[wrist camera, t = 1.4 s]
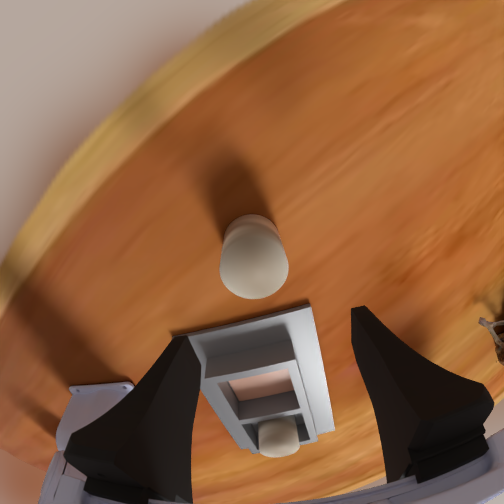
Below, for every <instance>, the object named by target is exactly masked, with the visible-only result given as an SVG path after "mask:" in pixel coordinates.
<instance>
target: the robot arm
mask: <svg viewBox="0 0 504 504" xmlns="http://www.w3.org/2000/svg"><path fill="white" fill-rule="evenodd" d="M351 342H352V346H353V350H354V354H355V358H356V362H357V364H358V367H359V370H360V372H361V375H362V378H363V380H364V383H365V385H366V388H367V391H368V393H369V396H370V399H371V402H372V405H373V408H374V412H375V416H376V420H377V425H378V429H379V434H380V439H381V445H382V450H383V456H384V463H385V470H386V478H387V484H384V485H381V486H377V487H373V488H369V489H365V490H361V491H357V492H352V493H347V494H342V495H337V496H332V497H326V498H320V499H313V500H306V501H298V502H289V503H278V504H484V503H486V502H488V501H489V500H491V499H493V498H494V497H496V496H498V495H500V494H501V493H503V492H504V429H502V430H500V431H498V432H497V433H495V434H493V435H492V436H490V437H489V438H487V439H485V437H484V435H483V434H484V433H485V428H484V426H483V423H484V422H485V421H486V419H487V417H488V416H489V415H490V413H491V411H492V410H493V407H494V401H493V399H492V397H491V395H490V394H489V392H488V390H487V389H486V387H485V386H484V385H483V384H482V383H479V382H475V381H472V380H469V379H466V378H464V377H461V376H459V375H456V374H454V373H452V372H450V371H448V370H446V369H444V368H442V367H440V366H438V365H436V364H434V363H432V362H431V361H429V360H428V359H426V358H424V357H423V356H421V355H420V354H418V353H417V352H416V351H414V350H413V349H412V348H410V347H409V346H408V345H406V344H405V343H404V342H403V341H401V340H400V339H399V338H398V337H397V336H396V335H395V334H393V333H392V332H391V331H390V330H389V329H388V328H387V327H386V326H385V325H384V324H383V323H382V322H381V321H380V320H379V319H378V318H377V317H376V316H375V315H374V314H373V313H372V312H371V311H370V310H369V309H368V308H367V307H366V306H365V305H364V306H360V307H355V308H351ZM200 385H201V363H200V361H199V359H198V357H197V355H196V353H195V351H194V349H193V347H192V345H191V342H190V340H189V338H188V336H187V335H183V336H175V337H174V338H173V339H172V341H171V342H170V343H169V345H168V346H167V347H166V349H165V350H164V351H163V353H162V354H161V355H160V357H159V358H158V359H157V361H156V362H155V363H154V364H153V366H152V367H151V368H150V370H149V371H148V372H147V373H146V374H145V375H144V377H143V378H142V379H141V380H140V381H139V383H138V384H137V385H136V386H134V385H133V384H132V383H131V382H120V383H109V384H97V385H83V386H70V388H69V391H70V392H71V393H72V394H73V395H72V397H71V399H70V401H69V403H68V405H67V407H66V410H65V412H64V414H63V416H62V419H61V421H60V423H59V425H58V428H57V431H56V444H57V448H58V450H59V451H57V452H56V453H55V454H54V456H53V459H52V461H51V463H50V466H49V468H48V471H47V474H46V476H45V479H44V482H43V485H42V489H41V496H40V499H39V502H38V504H193V498H192V485H191V444H192V430H193V423H194V418H195V412H196V407H197V402H198V396H199V391H200Z"/></svg>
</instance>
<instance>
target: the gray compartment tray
mask: <svg viewBox="0 0 504 504" xmlns="http://www.w3.org/2000/svg"><path fill="white" fill-rule="evenodd" d="M183 335H187V336H188V338H189V340H190V342H191V345H192V347H193V349H194V351H195V353H196V355H197V357H198V359H199V361H200V363H201V385H200V389H201V391H202V392H203V394H204V395H205V397H206V399H207V400H208V402H209V403H210V405H211V406H212V408H213V409H214V411H215V412H216V414H217V415H218V417H219V418H220V420H221V421H222V423H223V424H224V426H225V427H226V429H227V430H228V431H229V433H230V434H231V436H232V437H233V439H234V440H235V441H236V443H237V444H238V446H239V447H240V448H241V449H247V448H249V450H250V451H251V452H252V454H255V453H260V451H259V434H258V422H259V421H265V420H270V419H275V418H280V417H285V416H289V415H294V414H295V420H296V427H297V433H298V439H299V445H303V444H308V443H312V442H316V441H318V437H317V435H318V434H322V433H326V432H330V431H334V430H335V428H334V422H333V416H332V410H331V405H330V399H329V394H328V388H327V383H326V378H325V372H324V367H323V362H322V357H321V352H320V347H319V342H318V337H317V333H316V328H315V323H314V318H313V314H312V309H311V305H310V303H309V304H306V305H302V306H298V307H295V308H291V309H287V310H284V311H280V312H276V313H272V314H268V315H264V316H260V317H256V318H252V319H248V320H244V321H240V322H236V323H232V324H227V325H223V326H219V327H214V328H210V329H205V330H201V331H196V332H191V333H187V334H182V335H177V336H183ZM174 337H175V336H172V339H173V338H174Z"/></svg>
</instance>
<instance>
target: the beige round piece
mask: <svg viewBox="0 0 504 504" xmlns="http://www.w3.org/2000/svg"><path fill="white" fill-rule="evenodd" d="M258 434H259V451H260V453H261V454H263V455H265V456H268V457H283V456H287V455H290V454H293V453H295V452H296V451H297V450H298V449H299V447H300V445H299V439H298V433H297V427H296V420H295V414H294V415H289V416H285V417H280V418H275V419H270V420H265V421H259V422H258Z"/></svg>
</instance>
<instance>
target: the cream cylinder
mask: <svg viewBox="0 0 504 504" xmlns="http://www.w3.org/2000/svg"><path fill="white" fill-rule="evenodd" d="M287 275H288V261H287V257H286V254H285V251H284V248H283V245H282V242H281V239H280V236H279V233H278V230H277V228H276V226H275V225H274V224H273V223H272V222H271V221H270V220H269V219H267V218H266V217H264V216H261V215H256V214H247V215H243V216H240V217H238V218H236V219H235V220H234V221H232V222H231V223H230V225H229V226H228V227H227V229H226V231H225V234H224V240H223V247H222V254H221V261H220V276H221V279H222V281H223V283H224V284H225V286H226V287H227V288H228V289H229V290H230V291H231V292H232V293H234V294H236V295H238V296H240V297H243V298H248V299H259V298H264V297H267V296H269V295H271V294H273V293H275V292H276V291H277V290H278V289H279V288H280V287H281V286H282V285H283V284H284V282H285V280H286V278H287Z"/></svg>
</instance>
